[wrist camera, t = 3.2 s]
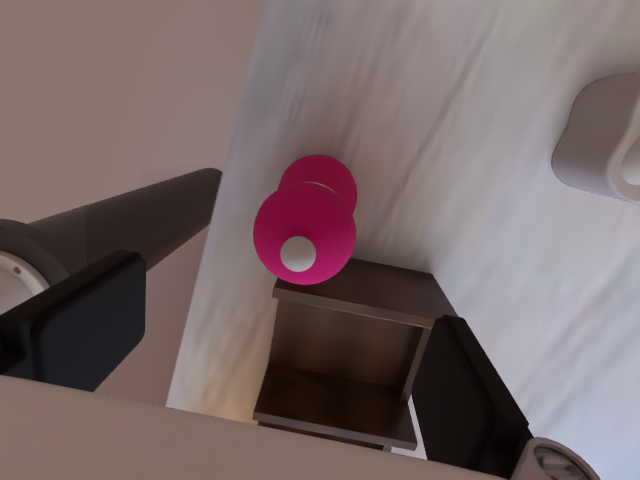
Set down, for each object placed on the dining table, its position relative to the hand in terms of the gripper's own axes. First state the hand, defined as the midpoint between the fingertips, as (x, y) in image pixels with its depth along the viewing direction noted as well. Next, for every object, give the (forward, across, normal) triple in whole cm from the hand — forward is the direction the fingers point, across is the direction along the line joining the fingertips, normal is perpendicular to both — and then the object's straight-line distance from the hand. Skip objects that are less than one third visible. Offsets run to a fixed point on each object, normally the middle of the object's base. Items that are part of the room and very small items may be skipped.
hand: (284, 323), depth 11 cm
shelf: (+26, -6, +21) cm, 34 cm away
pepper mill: (+26, 0, 0) cm, 26 cm away
